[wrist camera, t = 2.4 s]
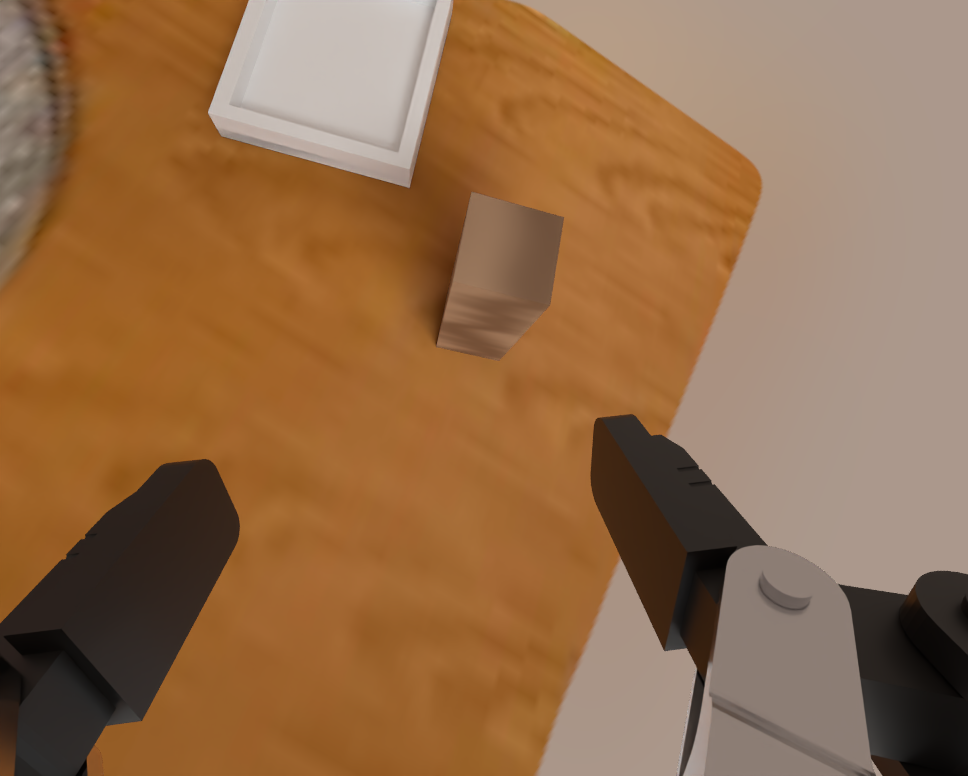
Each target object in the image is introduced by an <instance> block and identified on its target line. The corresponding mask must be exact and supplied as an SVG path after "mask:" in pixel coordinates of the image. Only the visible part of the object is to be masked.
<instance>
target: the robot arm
mask: <svg viewBox="0 0 968 776" xmlns="http://www.w3.org/2000/svg"><path fill="white" fill-rule="evenodd" d="M591 487H592V492H593V496H594V500H595V502H596V505H597V507H598V509H599V511H600V513H601V516H602V518H603V520H604V522H605V524H606V526H607V528H608V531H609V533H610V535H611V537H612V539H613V541H614V544H615V546H616V548H617V550H618V552H619V554H620V556H621V559H622V561H623V563H624V565H625V567H626V569H627V571H628V574H629V576H630V578H631V580H632V582H633V584H634V587H635V589H636V591H637V593H638V595H639V597H640V599H641V602H642V604H643V606H644V608H645V610H646V612H647V614H648V617H649V619H650V621H651V623H652V625H653V628H654V629H655V632H656V634H657V636H658V638H659V640H660V643H661V645H662V647H663V649H664V651H668V650H676V649H684V648H687V649H688V651H689V653H690V655H691V657H692V659H693V661H694V663H695V664H696V669H695V673H694V677H693V683H692V688H691V694H690V700H689V706H688V711H687V717H686V722H685V728H684V734H683V740H682V745H681V751H680V757H679V763H678V768H677V774H676V776H876V775H875V772H874V769H873V766H872V762H871V759H872V761H873V762H874V764H875V765H876V766H877V768H878V770H879V771H880V773H881V774H882V776H968V574H963V573H959V572H951V571H934V572H929V573H927V574H924V575H922V576H921V577H920V578H919V579H918V580H917V582H916V584H915V585H914V587H913V588H912V590H911V591H910V593H909V595H904V594H897V593H890V592H884V591H877V590H871V589H864V588H858V587H851V586H845V585H840V584H837V583H836V582H835V581H834V580H833V579H832V578H831V577H830V576H829V575H828V574H827V573H826V572H825V571H823V570H822V569H821V568H819V567H818V566H816V565H815V564H814V563H812V562H810V561H808V560H807V559H805V558H803V557H801V556H799V555H797V554H795V553H792V552H789V551H787V550H783V549H780V548H776V547H770V546H768V545H767V544H766V543H765V542H764V541H763V540H762V539H761V538H760V536H759V535H758V534H757V533H756V532H755V531H754V529H753V528H752V527H751V526H750V525H749V524H748V523H747V521H746V520H745V519H744V518H743V517H742V516H741V514H740V513H739V512H738V511H737V510H736V509H735V507H734V506H733V505H732V504H731V503H730V502H729V501H728V499H727V498H726V497H725V496H724V495H723V494H722V493H721V491H720V490H719V489H718V488H717V487H716V485H712V483H711V480H710V479H709V477H708V476H707V475H706V474H705V473H704V472H703V471H702V469H700V470H699V468H698V465H697V464H696V462H695V461H694V460H693V459H692V458H691V457H690V455H689V454H688V453H687V452H686V451H685V450H684V449H683V448H682V447H680V446H679V445H677V444H675V443H674V442H672V441H670V440H669V439H667V438H666V437H664V436H662V435H654V436H651V435H650V434H649V433H648V431H647V430H646V429H645V428H644V426H643V425H642V424H641V422H640V421H639V420H638V419H637V417H636V416H634V415H632V414H629V415H620V416H611V417H602V418H597V419H596V421H595V424H594V432H593V447H592V462H591ZM239 529H240V524H239V517H238V514H237V512H236V509H235V507H234V505H233V503H232V501H231V499H230V496H229V494H228V492H227V490H226V488H225V485H224V483H223V481H222V479H221V477H220V475H219V472H218V470H217V468H216V466H215V465H214V464H213V463H212V462H211V461H210V460H207V459H202V460H192V461H183V462H174V463H166V464H163V465H162V466H160V467H159V468H158V469H157V470H156V471H155V472H154V473H153V474H152V475H151V476H150V477H149V479H148V480H147V481H146V482H145V483H144V484H143V485H142V486H141V487H140V488H139V489H138V490H137V492H135V493H134V494H132V495H131V496H129V497H128V498H126V499H125V500H124V501H122V502H121V503H119V504H118V505H116V506H115V507H114V508H112V509H111V510H109V511H108V512H107V513H106V514H105V515H104V516H103V517H102V518H101V519H100V520H99V521H98V522H97V523H96V524H95V525H94V526H93V527H92V528H91V529H90V530H89V531H88V532H87V533H86V534H85V536H86V537H85V539H81V540H80V541H79V542H78V543H77V544H76V545H75V546H74V547H73V548H72V549H71V550H70V551H69V552H68V553H67V554H66V555H67V558H66V559H64V560H61V561H60V562H59V563H58V564H57V565H56V566H55V567H54V568H53V569H52V570H51V571H50V572H49V573H48V574H47V575H46V576H45V577H44V578H43V579H42V580H41V581H40V583H39V584H38V585H37V586H36V587H35V588H34V589H33V590H32V591H31V592H30V593H29V594H28V595H27V596H26V597H25V598H24V599H23V600H22V601H21V602H20V603H19V604H18V605H17V607H16V608H15V609H14V610H13V611H12V612H11V613H10V614H9V615H8V616H7V617H6V618H5V619H4V620H3V621H2V622H1V623H0V776H104V773H103V760H102V755H101V752H100V750H99V749H98V748H97V747H96V746H95V745H94V744H95V743H96V741H97V739H98V738H99V736H100V734H101V733H102V731H103V729H104V728H105V726H108V725H115V724H122V723H129V722H137V721H142V720H143V718H144V716H145V714H146V712H147V710H148V708H149V707H150V705H151V703H152V701H153V699H154V697H155V695H156V693H157V692H158V690H159V688H160V686H161V684H162V682H163V680H164V678H165V677H166V675H167V673H168V671H169V669H170V667H171V665H172V664H173V662H174V660H175V658H176V656H177V654H178V652H179V650H180V649H181V647H182V645H183V643H184V641H185V639H186V637H187V636H188V634H189V632H190V630H191V628H192V626H193V624H194V622H195V621H196V619H197V617H198V615H199V613H200V611H201V609H202V607H203V606H204V604H205V602H206V600H207V598H208V596H209V594H210V593H211V591H212V589H213V587H214V585H215V583H216V581H217V579H218V578H219V576H220V574H221V572H222V570H223V568H224V566H225V564H226V563H227V561H228V559H229V557H230V555H231V553H232V551H233V550H234V548H235V546H236V543H237V541H238V537H239Z"/></svg>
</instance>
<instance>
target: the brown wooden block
mask: <svg viewBox="0 0 968 776" xmlns="http://www.w3.org/2000/svg"><path fill="white" fill-rule="evenodd" d="M563 220H564V217H561V216H557V215H554V214H550V213H546V212H543V211H539V210H536V209H532V208H528V207H525V206H521V205H518V204H514V203H511V202H507V201H503V200H500V199H496V198H493V197H489V196H486V195H482V194H478V193H475V192H471V196H470V200H469V205H468V209H467V213H466V217H465V221H464V225H463V230H462V234H461V238H460V242H459V246H458V251H457V255H456V259H455V263H454V267H453V272H452V276H451V280H450V284H449V288H448V293H447V298H446V303H445V307H444V312H443V317H442V322H441V326H440V331H439V336H438V340H437V345H436V347H439V348H444V349H448V350H452V351H457V352H461V353H466V354H470V355H475V356H479V357H484V358H488V359H493V360H497V361H499V360H500V359H501V358H502V357H503V356H504V355H505V354H506V353H507V352H508V351H509V349H510V348H511V347H512V346H513V345H514V344H515V343H516V342H517V341H518V340H519V339H520V337H521V336H522V335H523V334H524V333H525V332H526V331H527V330H528V329H529V328H530V327H531V325H532V324H533V323H534V322H535V321H536V320H537V319H538V318H539V317H540V316H541V315H542V313H543V312H544V311H545V310H546V309H547V308H548V307H549V306H550V302H551V296H552V290H553V283H554V277H555V271H556V264H557V258H558V252H559V245H560V239H561V233H562V226H563Z"/></svg>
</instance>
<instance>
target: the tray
mask: <svg viewBox="0 0 968 776" xmlns="http://www.w3.org/2000/svg"><path fill="white" fill-rule="evenodd" d="M452 8H453V0H249V2H248V5H247V7H246V10H245V13H244V16H243V18H242V21H241V24H240V26H239V29H238V32H237V35H236V37H235V40H234V43H233V45H232V48H231V51H230V54H229V56H228V59H227V62H226V65H225V67H224V70H223V73H222V75H221V78H220V81H219V84H218V86H217V89H216V92H215V95H214V97H213V100H212V103H211V105H210V108H209V111H208V114H209V116H210V118H211V119H212V121H213V123H214V124H215V126H216V128H217V130H218V131H219V133H220V135H221V136H223V137H226V138H230V139H233V140H237V141H241V142H244V143H248V144H252V145H255V146H259V147H263V148H266V149H270V150H273V151H277V152H281V153H284V154H288V155H292V156H295V157H299V158H303V159H306V160H310V161H314V162H317V163H321V164H324V165H328V166H332V167H335V168H339V169H343V170H346V171H350V172H354V173H357V174H361V175H364V176H368V177H372V178H375V179H379V180H383V181H386V182H390V183H394V184H397V185H401V186H404V187H408V188H410V184H411V180H412V176H413V172H414V168H415V164H416V159H417V155H418V151H419V147H420V143H421V139H422V135H423V131H424V127H425V123H426V118H427V114H428V110H429V106H430V102H431V98H432V94H433V90H434V86H435V81H436V77H437V73H438V69H439V65H440V61H441V57H442V53H443V49H444V45H445V40H446V36H447V32H448V28H449V24H450V20H451V16H452Z"/></svg>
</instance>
